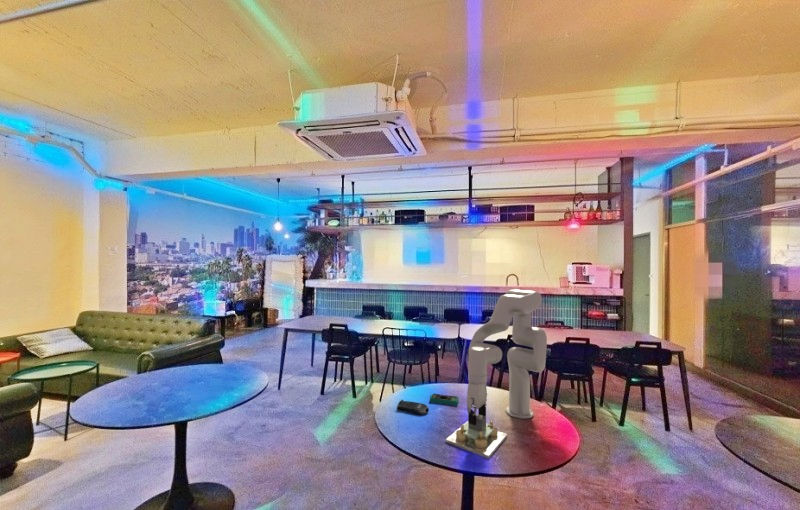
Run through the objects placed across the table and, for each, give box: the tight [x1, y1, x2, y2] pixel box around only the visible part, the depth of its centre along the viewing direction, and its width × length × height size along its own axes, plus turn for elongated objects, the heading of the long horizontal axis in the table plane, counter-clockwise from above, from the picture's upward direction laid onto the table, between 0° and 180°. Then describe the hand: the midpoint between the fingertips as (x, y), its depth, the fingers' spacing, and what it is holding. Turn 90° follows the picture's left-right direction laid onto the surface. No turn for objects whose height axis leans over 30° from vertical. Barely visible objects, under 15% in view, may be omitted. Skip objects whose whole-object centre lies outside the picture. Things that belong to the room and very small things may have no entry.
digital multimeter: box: [429, 393, 460, 407], centre depth 172 cm, size 7×15×3 cm, turn 73°
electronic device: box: [396, 399, 430, 416], centre depth 162 cm, size 9×6×15 cm
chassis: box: [445, 419, 508, 459], centre depth 135 cm, size 20×18×7 cm
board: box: [463, 413, 494, 439], centre depth 135 cm, size 14×11×6 cm
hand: (477, 419), depth 135 cm, fingers open, 9 cm apart
